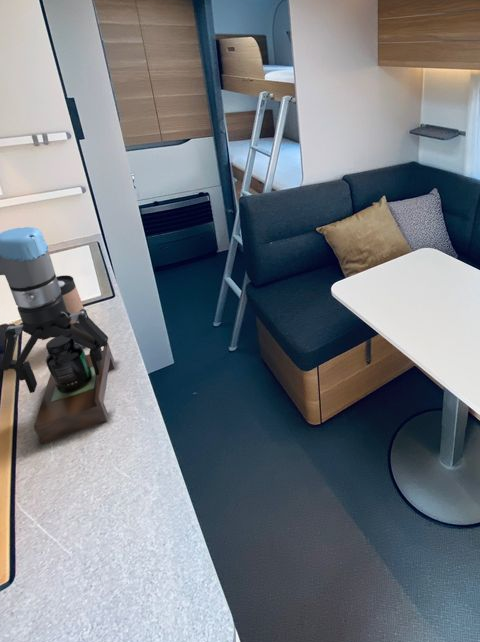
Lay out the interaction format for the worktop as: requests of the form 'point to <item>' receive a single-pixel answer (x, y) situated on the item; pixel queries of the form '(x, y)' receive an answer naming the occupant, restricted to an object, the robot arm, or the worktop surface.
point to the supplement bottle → (67, 364)
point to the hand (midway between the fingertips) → (67, 379)
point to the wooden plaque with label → (74, 404)
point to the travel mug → (71, 299)
